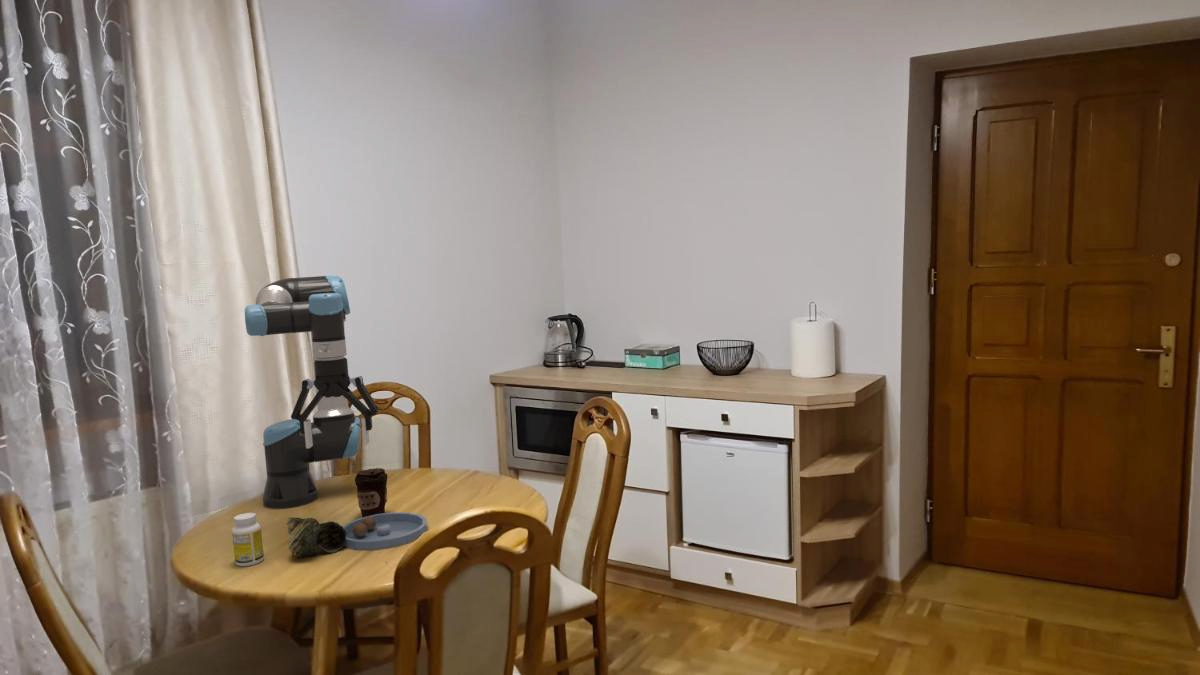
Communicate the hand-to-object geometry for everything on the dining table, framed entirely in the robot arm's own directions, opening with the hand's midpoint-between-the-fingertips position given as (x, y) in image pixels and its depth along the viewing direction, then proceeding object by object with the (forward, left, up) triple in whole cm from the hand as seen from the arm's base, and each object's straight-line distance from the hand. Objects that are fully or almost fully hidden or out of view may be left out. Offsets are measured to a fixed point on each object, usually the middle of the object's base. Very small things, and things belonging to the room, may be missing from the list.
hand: (338, 445), depth 192 cm
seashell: (+5, -9, -24) cm, 26 cm away
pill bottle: (-3, -22, -24) cm, 33 cm away
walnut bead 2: (-3, +7, -23) cm, 24 cm away
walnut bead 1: (+1, +3, -23) cm, 24 cm away
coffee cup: (-13, +11, -24) cm, 30 cm away
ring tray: (+3, +8, -24) cm, 26 cm away
